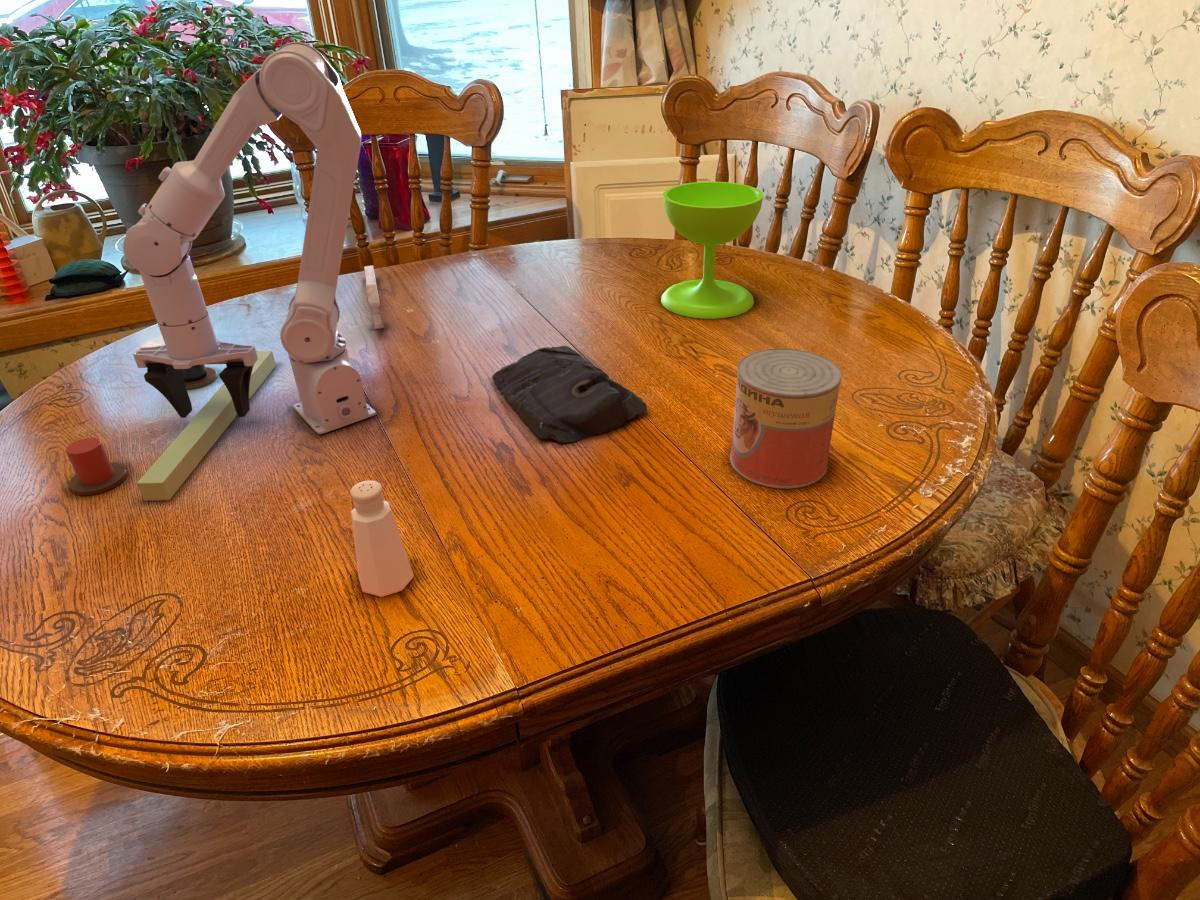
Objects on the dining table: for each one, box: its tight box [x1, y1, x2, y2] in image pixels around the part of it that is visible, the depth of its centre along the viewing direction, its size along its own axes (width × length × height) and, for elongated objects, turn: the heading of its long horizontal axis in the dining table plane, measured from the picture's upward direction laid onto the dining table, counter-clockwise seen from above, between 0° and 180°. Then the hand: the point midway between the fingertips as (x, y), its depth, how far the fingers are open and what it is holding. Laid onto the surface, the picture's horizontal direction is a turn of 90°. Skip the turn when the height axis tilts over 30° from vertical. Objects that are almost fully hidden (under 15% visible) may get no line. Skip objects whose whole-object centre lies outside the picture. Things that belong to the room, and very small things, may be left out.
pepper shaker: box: [349, 479, 415, 598], centre depth 74 cm, size 5×5×11 cm
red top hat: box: [65, 436, 128, 497], centre depth 91 cm, size 6×6×5 cm
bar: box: [136, 350, 277, 502], centre depth 102 cm, size 34×3×2 cm, turn 0°
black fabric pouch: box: [491, 345, 648, 445], centre depth 105 cm, size 15×22×5 cm
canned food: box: [729, 348, 843, 490], centre depth 89 cm, size 11×11×12 cm
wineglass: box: [660, 181, 764, 320], centre depth 129 cm, size 16×16×18 cm
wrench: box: [363, 265, 385, 330], centre depth 134 cm, size 8×2×30 cm
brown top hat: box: [182, 365, 218, 391], centre depth 112 cm, size 6×6×5 cm
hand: (215, 413), depth 102 cm, fingers open, 7 cm apart
